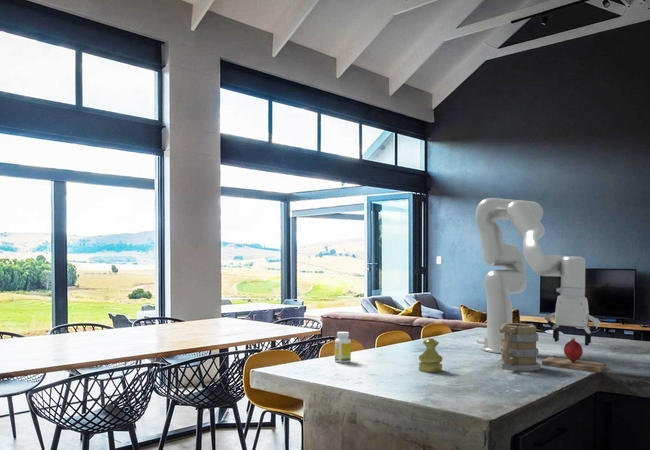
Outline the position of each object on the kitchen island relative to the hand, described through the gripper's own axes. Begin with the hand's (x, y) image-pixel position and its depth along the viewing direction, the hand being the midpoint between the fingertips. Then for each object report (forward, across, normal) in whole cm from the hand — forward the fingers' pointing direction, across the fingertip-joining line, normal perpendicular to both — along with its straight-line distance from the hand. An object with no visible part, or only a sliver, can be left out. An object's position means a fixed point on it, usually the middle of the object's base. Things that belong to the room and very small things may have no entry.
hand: (571, 343), depth 188 cm
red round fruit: (+6, +1, 0) cm, 6 cm away
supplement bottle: (+9, -62, -46) cm, 78 cm away
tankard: (+8, -14, -18) cm, 24 cm away
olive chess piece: (+8, -33, -40) cm, 52 cm away
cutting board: (+8, +1, 0) cm, 8 cm away
